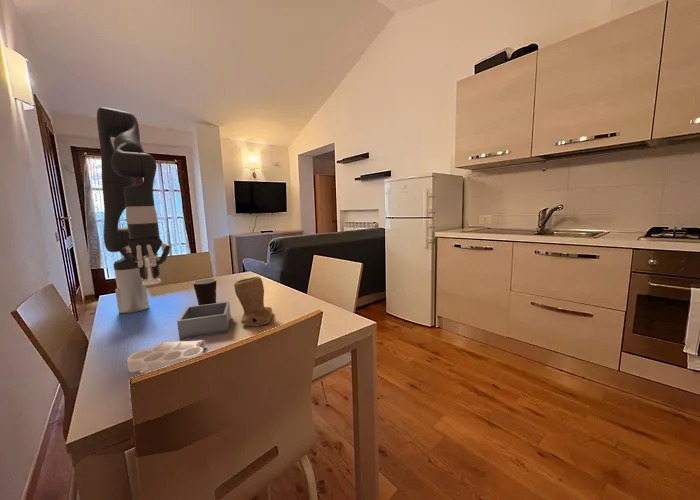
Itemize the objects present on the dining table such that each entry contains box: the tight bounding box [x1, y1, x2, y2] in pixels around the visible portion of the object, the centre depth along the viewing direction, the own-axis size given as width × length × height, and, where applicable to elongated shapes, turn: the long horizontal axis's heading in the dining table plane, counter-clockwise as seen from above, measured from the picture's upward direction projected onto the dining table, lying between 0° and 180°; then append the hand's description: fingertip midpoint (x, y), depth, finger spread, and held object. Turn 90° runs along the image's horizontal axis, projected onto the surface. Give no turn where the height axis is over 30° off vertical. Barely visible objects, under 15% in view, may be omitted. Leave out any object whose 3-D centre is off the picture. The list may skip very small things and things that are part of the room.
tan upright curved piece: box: [233, 276, 273, 327], centre depth 101 cm, size 15×12×15 cm
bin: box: [176, 301, 232, 341], centre depth 96 cm, size 14×14×6 cm
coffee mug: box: [192, 278, 217, 305], centre depth 121 cm, size 12×9×10 cm
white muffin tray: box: [126, 339, 206, 374], centre depth 76 cm, size 3×18×15 cm
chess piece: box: [142, 255, 162, 286], centre depth 89 cm, size 5×5×10 cm
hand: (150, 278), depth 90 cm, fingers closed on chess piece
